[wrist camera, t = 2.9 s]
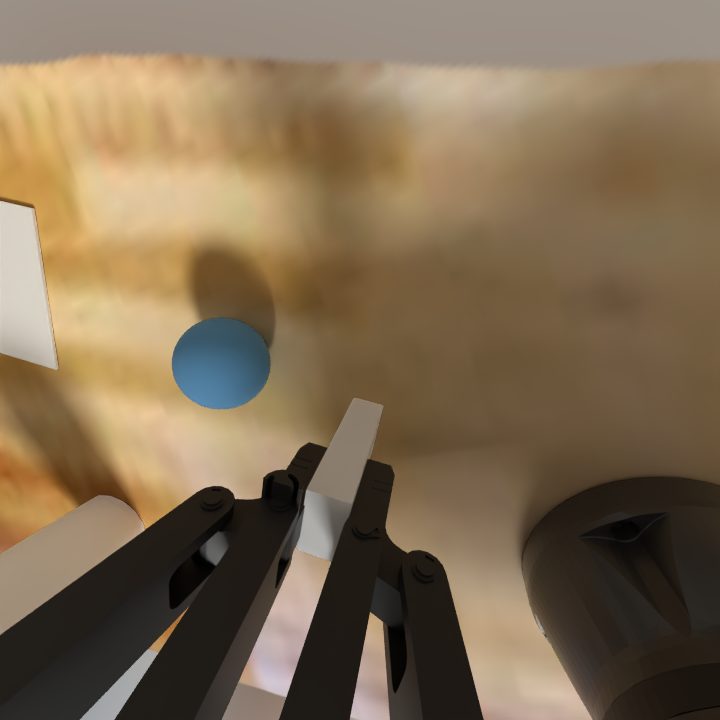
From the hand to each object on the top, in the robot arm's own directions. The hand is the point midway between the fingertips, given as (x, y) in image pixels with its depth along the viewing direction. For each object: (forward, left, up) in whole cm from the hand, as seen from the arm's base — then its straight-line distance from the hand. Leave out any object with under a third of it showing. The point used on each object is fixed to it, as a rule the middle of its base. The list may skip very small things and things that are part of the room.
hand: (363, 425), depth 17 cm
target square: (+31, 0, -6) cm, 32 cm away
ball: (+9, 0, -3) cm, 10 cm away
